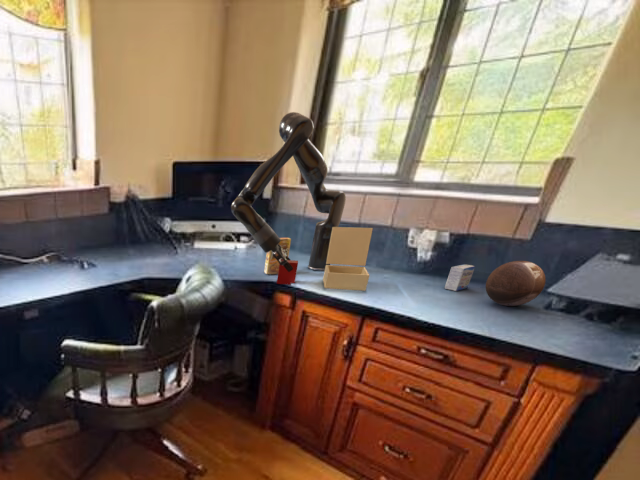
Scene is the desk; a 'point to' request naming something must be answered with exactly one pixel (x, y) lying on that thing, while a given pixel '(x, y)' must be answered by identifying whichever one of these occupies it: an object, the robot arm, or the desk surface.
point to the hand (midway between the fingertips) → (291, 267)
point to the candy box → (271, 261)
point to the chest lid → (349, 246)
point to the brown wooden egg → (515, 283)
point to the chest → (345, 277)
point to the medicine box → (459, 277)
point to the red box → (287, 273)
